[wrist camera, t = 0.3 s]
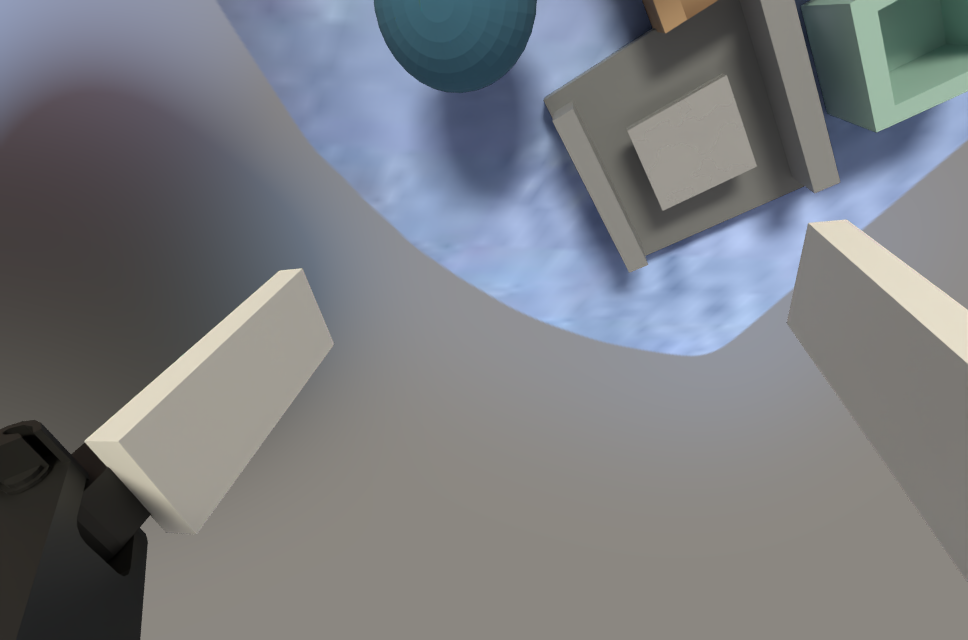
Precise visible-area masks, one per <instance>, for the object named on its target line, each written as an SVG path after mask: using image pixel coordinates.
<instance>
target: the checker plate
mask: <svg viewBox="0 0 968 640" xmlns="http://www.w3.org/2000/svg"><path fill="white" fill-rule="evenodd" d="M626 129H627V131H628V134H629V136H630V138H631V140H632V143H633V145H634V147H635V150H636V152H637V154H638V156H639V159H640V161H641V163H642V165H643V168H644V170H645V172H646V174H647V177H648V179H649V181H650V184H651V186H652V188H653V190H654V193H655V195H656V197H657V199H658V202H659V204H660V206H661V208H662V210H663V211H664V210H666V209H668V208H670V207H672V206H674V205H676V204H678V203H681V202H683V201H685V200H687V199H689V198H691V197H693V196H695V195H698V194H700V193H702V192H704V191H706V190H708V189H710V188H712V187H714V186H717V185H719V184H721V183H723V182H725V181H727V180H729V179H731V178H734V177H736V176H738V175H740V174H742V173H744V172H746V171H748V170H751V169H753V168H755V167H757V165H756V162H755V159H754V156H753V153H752V150H751V147H750V144H749V141H748V138H747V135H746V132H745V129H744V126H743V123H742V120H741V116H740V113H739V110H738V107H737V104H736V101H735V98H734V95H733V92H732V89H731V86H730V83H729V80H728V77H727V75H725V74H723V73H722V74H720V75H718V76H716V77H715V78H713V79H711V80H709V81H708V82H706V83H704V84H702V85H701V86H699V87H697V88H695V89H693V90H692V91H690V92H688V93H686V94H685V95H683V96H681V97H679V98H678V99H676V100H674V101H672V102H670V103H669V104H667V105H665V106H663V107H662V108H660V109H658V110H656V111H655V112H653V113H651V114H649V115H647V116H646V117H644V118H642V119H640V120H639V121H637V122H635V123H633V124H631V125H630V126H628V127H626Z"/></svg>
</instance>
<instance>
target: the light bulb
mask: <svg viewBox="0 0 968 640" xmlns="http://www.w3.org/2000/svg"><path fill="white" fill-rule="evenodd" d="M536 3H537V0H374V7H375V13H376V17H377V21H378V25H379V28H380V31H381V33H382V35H383V38H384V40H385V42H386V44H387V46H388V48H389V49H390V51H391V52H392V54H393V56H394V57H395V59H396V60H397V61H398V62H399V63H400V64H401V65H402V67H403V68H404V69H405V70H406V71H407V72H408V73H409V74H411V75H412V76H413V77H414V78H416V79H417V80H418V81H419V82H421V83H423V84H425V85H427V86H429V87H431V88H433V89H437V90H441V91H445V92H455V93H463V92H469V91H474V90H479V89H481V88H484V87H486V86H488V85H491V84H493V83H494V82H495V81H497V80H498V79H500V78H501V77H503V76H504V75H505V74H506V73H507V72H508V71H509V70H510V69H511V68H512V67H513V66H514V64H515V63H516V62H517V60H518V59H519V57H520V56H521V54H522V52H523V51H524V49H525V47H526V45H527V42H528V40H529V37H530V35H531V32H532V28H533V24H534V20H535V15H536Z"/></svg>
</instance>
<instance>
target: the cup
mask: <svg viewBox="0 0 968 640" xmlns="http://www.w3.org/2000/svg"><path fill="white" fill-rule="evenodd" d="M801 10H802V14H803V18H804V22H805V26H806V30H807V35H808V39H809V43H810V47H811V51H812V55H813V59H814V63H815V67H816V71H817V75H818V79H819V83H820V87H821V91H822V95H823V99H824V103H825V107H826V111H827V114H829V115H832V116H834V117H837V118H840V119H842V120H845V121H847V122H850V123H853V124H855V125H858V126H861V127H863V128H866V129H868V130H871V131H874V132H876V133H877V132H879V131H881V130H883V129H886V128H888V127H890V126H892V125H894V124H897V123H899V122H901V121H903V120H905V119H908V118H910V117H912V116H914V115H916V114H919V113H921V112H923V111H925V110H927V109H930V108H932V107H934V106H936V105H938V104H941V103H943V102H945V101H947V100H949V99H952V98H954V97H956V96H958V95H960V94H963V93H965V92H967V91H968V0H810V1H808V2H806V3H805V4H803V5H801Z"/></svg>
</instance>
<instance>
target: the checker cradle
mask: <svg viewBox="0 0 968 640" xmlns="http://www.w3.org/2000/svg"><path fill="white" fill-rule="evenodd" d="M722 73H723V74H725V75H727V77H728V80H729V83H730V86H731V89H732V92H733V95H734V98H735V101H736V104H737V107H738V110H739V113H740V116H741V120H742V123H743V126H744V129H745V132H746V135H747V138H748V141H749V144H750V147H751V150H752V153H753V156H754V159H755V162H756V165H757V167H755V168H753V169H751V170H748V171H746V172H744V173H742V174H740V175H738V176H736V177H734V178H731V179H729V180H727V181H725V182H723V183H721V184H719V185H717V186H714V187H712V188H710V189H708V190H706V191H704V192H702V193H700V194H698V195H695V196H693V197H691V198H689V199H687V200H685V201H683V202H681V203H678V204H676V205H674V206H672V207H670V208H668V209H666V210H664V211H663V210H662V208H661V206H660V204H659V202H658V199H657V197H656V195H655V193H654V190H653V188H652V186H651V184H650V181H649V179H648V177H647V174H646V172H645V170H644V168H643V165H642V163H641V161H640V159H639V156H638V154H637V152H636V150H635V147H634V145H633V143H632V140H631V138H630V136H629V134H628V131H627V129H626V127H628V126H630V125H631V124H633V123H635V122H637V121H639V120H640V119H642V118H644V117H646V116H647V115H649V114H651V113H653V112H655V111H656V110H658V109H660V108H662V107H663V106H665V105H667V104H669V103H670V102H672V101H674V100H676V99H678V98H679V97H681V96H683V95H685V94H686V93H688V92H690V91H692V90H693V89H695V88H697V87H699V86H701V85H702V84H704V83H706V82H708V81H709V80H711V79H713V78H715V77H716V76H718V75H720V74H722ZM544 102H545V104H546V106H547V108H548V110H549V112H550V114H551V116H552V118H553V123H554V125H555V127H556V129H557V131H558V133H559V135H560V137H561V139H562V141H563V143H564V145H565V147H566V149H567V151H568V153H569V155H570V157H571V159H572V161H573V163H574V165H575V167H576V169H577V171H578V173H579V175H580V177H581V178H582V180H583V182H584V184H585V186H586V188H587V190H588V192H589V194H590V196H591V198H592V200H593V202H594V204H595V206H596V208H597V210H598V212H599V214H600V216H601V218H602V220H603V222H604V224H605V226H606V228H607V230H608V232H609V234H610V236H611V238H612V240H613V242H614V244H615V245H616V247H617V249H618V251H619V253H620V255H621V257H622V259H623V261H624V263H625V265H626V267H627V269H628V271H629V273H630V272H632V271H635V270H637V269H639V268H642V267H644V266H646V265H648V263H647V259H646V255H648V254H651V253H653V252H655V251H658V250H660V249H662V248H664V247H667V246H669V245H671V244H674V243H676V242H678V241H680V240H683V239H685V238H687V237H690V236H692V235H694V234H696V233H699V232H701V231H703V230H706V229H708V228H710V227H712V226H715V225H717V224H719V223H722V222H724V221H726V220H728V219H731V218H733V217H735V216H738V215H740V214H742V213H744V212H747V211H749V210H751V209H754V208H756V207H758V206H760V205H763V204H765V203H767V202H769V201H772V200H774V199H776V198H779V197H781V196H783V195H785V194H788V193H790V192H792V191H795V190H797V189H799V188H801V187H804V186H805V187H807V188H808V189H809V190H811V191H812V192H813V193H817V192H819V191H821V190H824V189H826V188H828V187H831V186H833V185H835V184H838V183H840V179H839V175H838V171H837V167H836V163H835V159H834V155H833V151H832V147H831V143H830V139H829V135H828V131H827V127H826V123H825V119H824V115H823V111H822V107H821V103H820V99H819V95H818V91H817V87H816V83H815V80H814V76H813V72H812V68H811V64H810V60H809V56H808V52H807V48H806V44H805V40H804V36H803V32H802V28H801V24H800V20H799V16H798V12H797V8H796V4H795V0H718V1H716V2H715V3H713V4H712V5H710V6H708V7H707V8H705V9H704V10H702V11H700V12H699V13H697V14H696V15H694V16H692V17H691V18H689V19H688V20H686V21H684V22H683V23H681V24H680V25H678V26H677V27H675V28H673V29H672V30H670V31H669V32H667V33H660V32H657V30H656V29H655V28H652V29H651V30H649V31H648V32H646V33H644V34H643V35H641V36H640V37H638V38H637V39H635V40H633V41H632V42H630V43H629V44H627V45H626V46H624V47H623V48H621V49H619V50H618V51H616V52H615V53H613V54H612V55H610V56H609V57H607V58H605V59H604V60H602V61H601V62H599V63H598V64H596V65H594V66H593V67H591V68H590V69H588V70H587V71H585V72H584V73H582V74H580V75H579V76H577V77H576V78H574V79H573V80H571V81H570V82H568V83H566V84H565V85H563V86H562V87H560V88H559V89H557V90H555V91H554V92H552V93H551V94H549V95H548V96H546V97H545V98H544Z"/></svg>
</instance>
